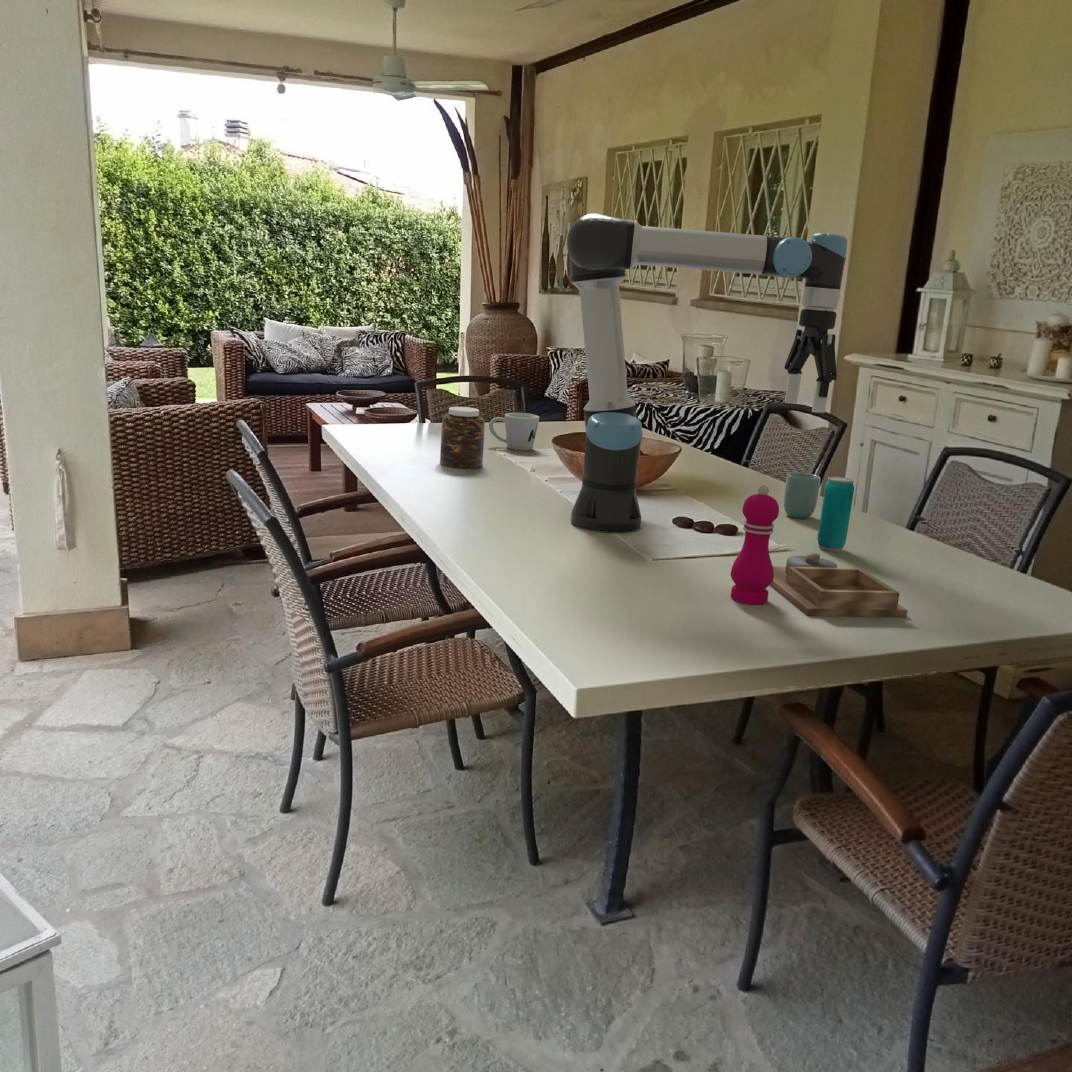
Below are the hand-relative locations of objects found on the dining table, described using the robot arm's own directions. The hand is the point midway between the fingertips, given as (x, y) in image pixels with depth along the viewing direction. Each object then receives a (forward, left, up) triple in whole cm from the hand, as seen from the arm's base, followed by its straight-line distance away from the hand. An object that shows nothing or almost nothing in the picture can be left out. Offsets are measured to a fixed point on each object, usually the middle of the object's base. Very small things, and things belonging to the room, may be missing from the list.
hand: (804, 407), depth 219 cm
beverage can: (+2, -19, -27) cm, 33 cm away
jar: (-69, +57, -27) cm, 94 cm away
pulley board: (-13, -49, -27) cm, 57 cm away
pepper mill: (-29, -53, -27) cm, 66 cm away
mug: (-51, +86, -27) cm, 104 cm away
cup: (+7, +9, -27) cm, 30 cm away
